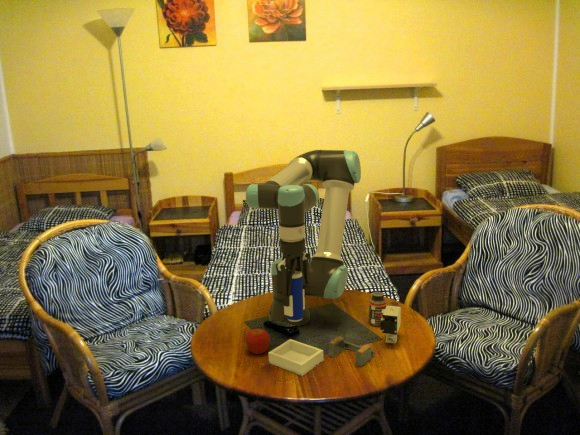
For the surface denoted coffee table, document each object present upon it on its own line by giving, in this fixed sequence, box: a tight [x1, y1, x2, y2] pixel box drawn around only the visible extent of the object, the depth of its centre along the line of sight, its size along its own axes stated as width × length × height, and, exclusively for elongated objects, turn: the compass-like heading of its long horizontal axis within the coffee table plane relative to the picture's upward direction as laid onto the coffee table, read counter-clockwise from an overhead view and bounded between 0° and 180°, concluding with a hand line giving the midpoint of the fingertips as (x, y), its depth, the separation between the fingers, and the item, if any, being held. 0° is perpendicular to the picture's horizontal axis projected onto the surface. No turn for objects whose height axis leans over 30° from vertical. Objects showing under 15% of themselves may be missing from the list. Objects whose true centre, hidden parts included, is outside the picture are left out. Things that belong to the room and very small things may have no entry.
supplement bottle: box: [368, 291, 387, 327], centre depth 193 cm, size 6×6×11 cm
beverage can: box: [287, 270, 303, 322], centre depth 165 cm, size 5×5×15 cm
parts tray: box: [267, 338, 324, 377], centre depth 170 cm, size 13×11×4 cm
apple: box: [245, 328, 271, 355], centre depth 176 cm, size 8×8×8 cm
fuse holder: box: [328, 335, 376, 368], centre depth 172 cm, size 12×8×5 cm, turn 51°
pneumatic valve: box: [379, 304, 402, 344], centre depth 180 cm, size 6×12×12 cm, turn 161°
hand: (294, 311), depth 166 cm, fingers closed on beverage can, 5 cm apart
